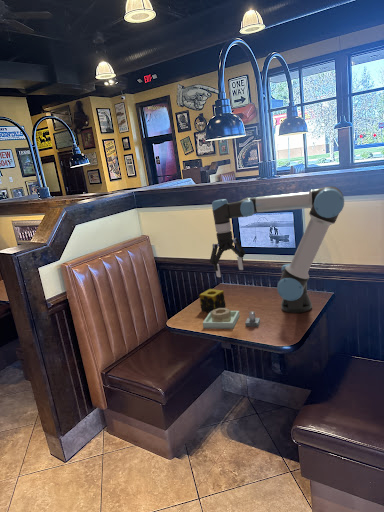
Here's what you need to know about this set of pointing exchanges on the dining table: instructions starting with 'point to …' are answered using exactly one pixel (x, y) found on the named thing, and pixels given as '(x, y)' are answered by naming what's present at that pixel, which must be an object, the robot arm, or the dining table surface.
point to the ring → (221, 315)
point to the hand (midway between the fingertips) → (230, 273)
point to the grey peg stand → (252, 320)
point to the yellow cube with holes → (212, 300)
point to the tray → (221, 325)
